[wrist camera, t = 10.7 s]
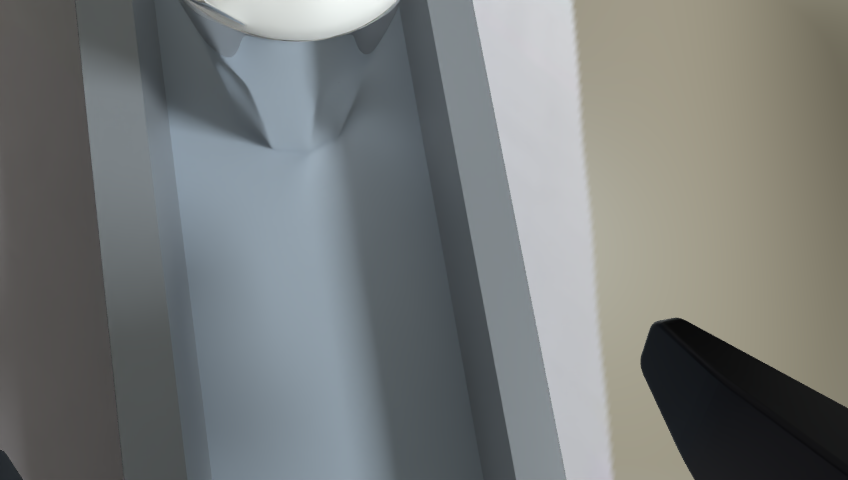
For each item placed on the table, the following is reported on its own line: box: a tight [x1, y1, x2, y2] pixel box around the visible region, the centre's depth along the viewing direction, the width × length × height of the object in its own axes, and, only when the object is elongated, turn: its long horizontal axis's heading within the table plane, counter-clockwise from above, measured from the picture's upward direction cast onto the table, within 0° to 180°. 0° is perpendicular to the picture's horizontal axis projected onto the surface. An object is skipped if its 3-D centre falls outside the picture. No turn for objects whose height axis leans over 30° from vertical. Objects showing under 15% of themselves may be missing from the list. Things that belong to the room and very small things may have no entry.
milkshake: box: [178, 0, 402, 152], centre depth 13 cm, size 5×5×10 cm
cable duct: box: [75, 0, 566, 480], centre depth 16 cm, size 22×9×4 cm, turn 10°
